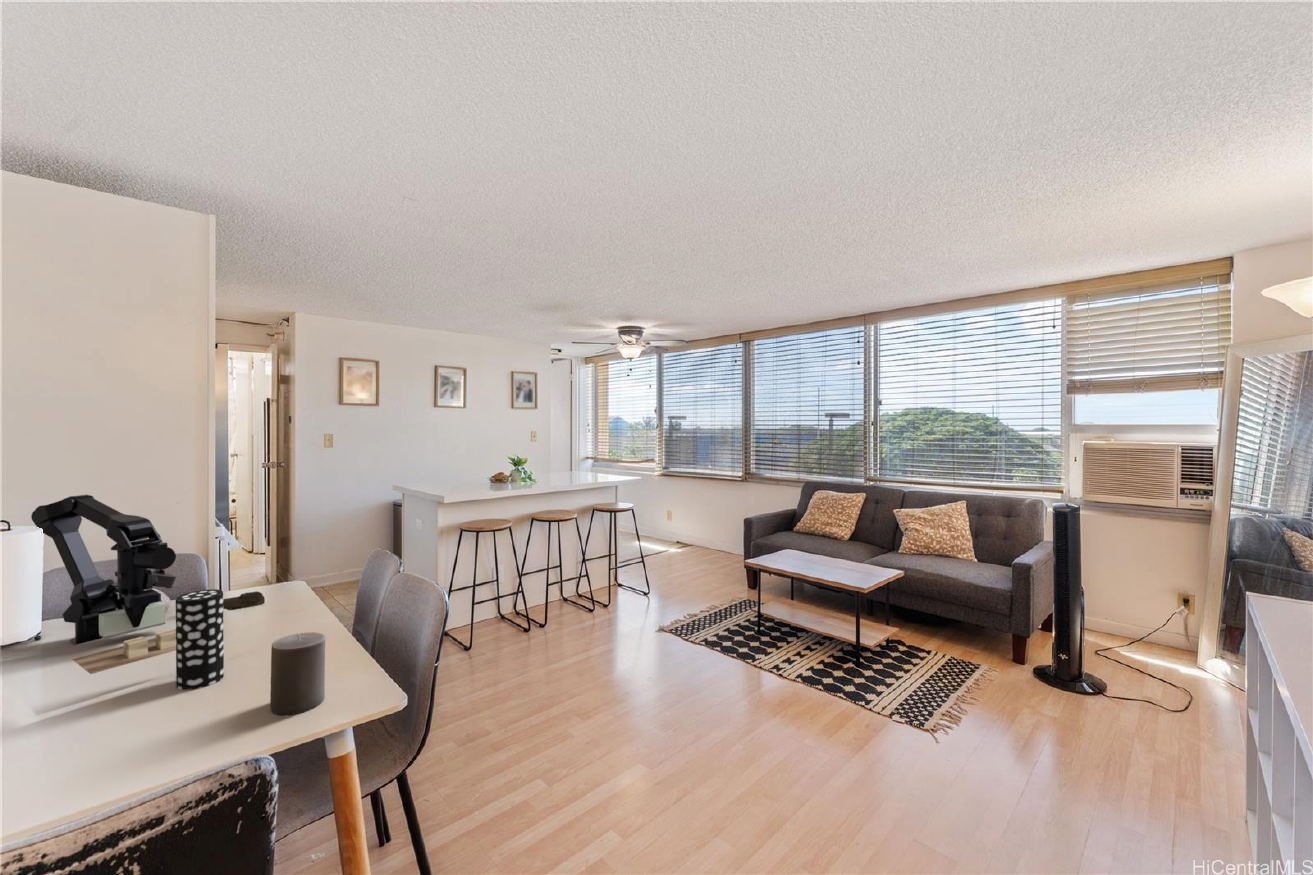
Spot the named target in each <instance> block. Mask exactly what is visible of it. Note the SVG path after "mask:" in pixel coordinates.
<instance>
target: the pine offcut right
mask: <svg viewBox="0 0 1313 875" xmlns="http://www.w3.org/2000/svg"><path fill="white" fill-rule="evenodd" d="M155 638H156V647H157V648H159V649H160V650H162V649H166V648H170V647H173V646H176V629H175V628H172V629H166V630H163V631H160V632H156V633H155Z"/></svg>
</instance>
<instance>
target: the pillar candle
mask: <svg viewBox="0 0 1313 875" xmlns="http://www.w3.org/2000/svg"><path fill="white" fill-rule="evenodd" d="M270 651H271V652H270V653H271V657H270V658H271V659H270V692H269V694H270V696H269V697H270V700H269V704H270V705H269V709H270V712H271V713H273V714H274V715H278V716H292V715H297V714H300V713H304V712H308V711H310V710H312V709H314V708H317V707H318V706H320V705H321V704H322V703H323V702H324V701H325V692H326V691H325V690H326V688H325V686H326V684H325V682H326V681H325V680H326V678H325V676H326V634H325V633H323V632H321V633H320V632H315V631H311V632H310V631H309V632H299V633H290V634H289V635H286V636H283V637H280V638H278V639H275V640H274V641H273V642H272V643H271V650H270Z"/></svg>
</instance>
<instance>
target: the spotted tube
mask: <svg viewBox="0 0 1313 875" xmlns="http://www.w3.org/2000/svg"><path fill="white" fill-rule="evenodd" d="M223 599H224V591H223V590H222V589H217V588H216V589H215V588H214V589H200V590H195V591H191V592H185V593H183V594H180V595H178V596H177V597H175V630H176V650H175V669H176V670H175V675H176V677H175V678H176V683H175V684H176V689H178V690H182V691H189V690H192V691H193V690H197V689H201V688H205V687H208V686H211V685H213V684H216V683H218V682H220V681H221V680H222V679H223V678H224V677H225V676H224V675H225V672H224V671H225V669H224V667H225V666H224V665H225V664H224V661H225V660H224V658H225V657H224V649H225V648H224V609H223Z"/></svg>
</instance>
